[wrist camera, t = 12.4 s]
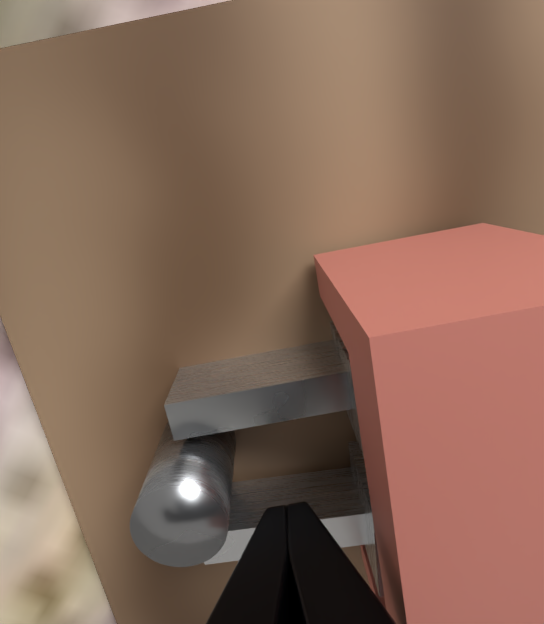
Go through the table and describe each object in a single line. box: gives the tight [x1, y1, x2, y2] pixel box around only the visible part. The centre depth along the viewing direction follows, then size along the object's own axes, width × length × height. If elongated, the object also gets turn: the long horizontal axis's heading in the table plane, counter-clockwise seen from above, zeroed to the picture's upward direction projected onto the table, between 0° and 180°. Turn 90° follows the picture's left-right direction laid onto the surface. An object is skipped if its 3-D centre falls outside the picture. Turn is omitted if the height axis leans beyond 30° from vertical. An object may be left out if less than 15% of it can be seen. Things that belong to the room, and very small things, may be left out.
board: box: [0, 0, 544, 624], centre depth 13 cm, size 21×22×1 cm
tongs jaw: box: [204, 441, 384, 597], centre depth 11 cm, size 15×3×3 cm, turn 98°
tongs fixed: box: [130, 321, 364, 567], centre depth 10 cm, size 16×4×4 cm, turn 101°
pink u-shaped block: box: [313, 223, 544, 624], centre depth 9 cm, size 4×9×6 cm, turn 11°
